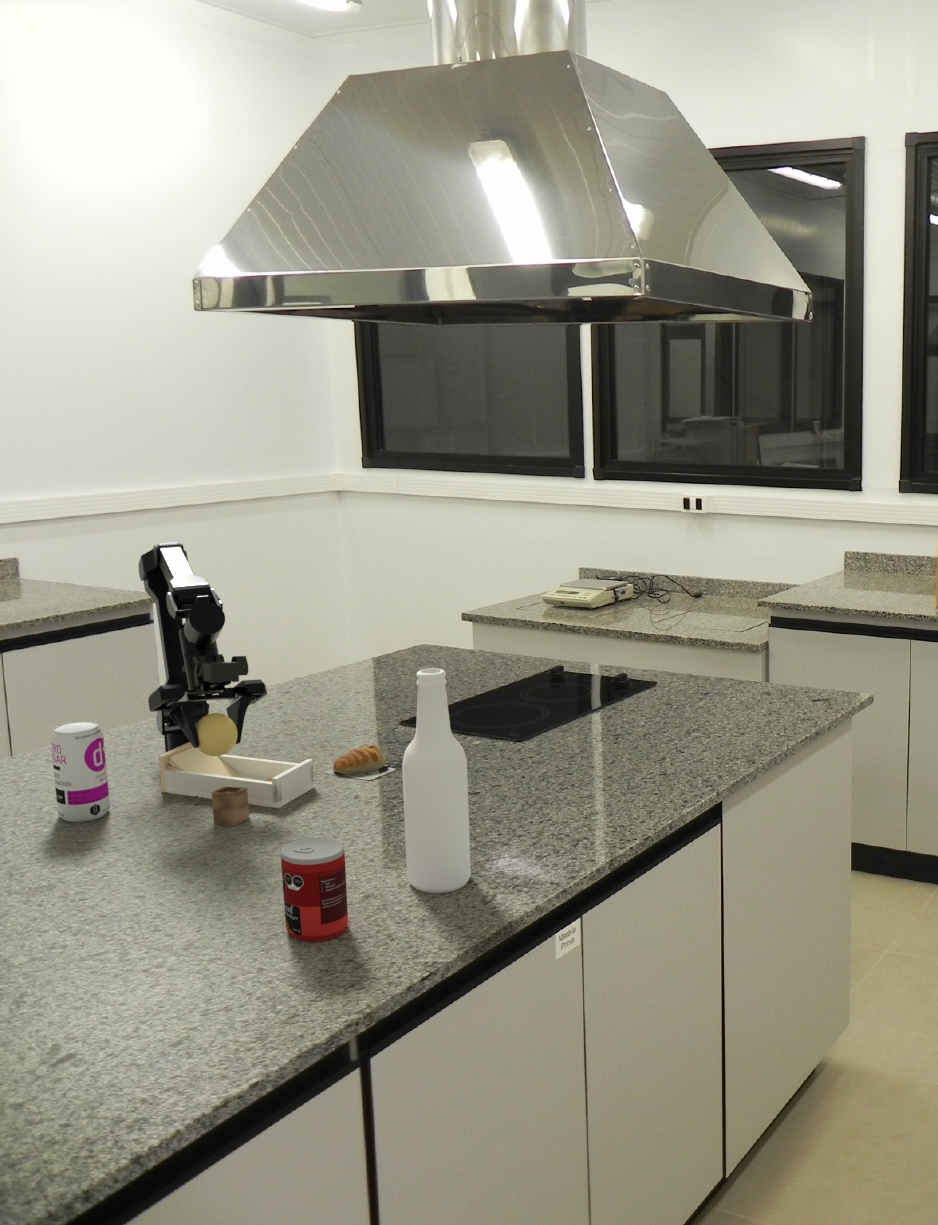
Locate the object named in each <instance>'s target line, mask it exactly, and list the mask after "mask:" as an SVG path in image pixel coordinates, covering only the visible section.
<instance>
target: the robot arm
mask: <svg viewBox="0 0 938 1225" xmlns="http://www.w3.org/2000/svg"><path fill="white" fill-rule="evenodd" d="M138 575H139V580H140V581H141V582H142V581H143V585H144V586H143V587H144V591H145V592H146V594H147V595H148V596H149V598H150V599H151V600H152V601H153V602H154V603H155V607H156V608H155V609H156V614H157V615H156V616H157V622H158V629H159V630H158V631H159V636H160V637H159V638H160V642H161V644H160V645H161V651H162V652H161V653H162V658H163V666H164V671H165V672H164V673H165V682H164V684H162V685H159V686H158V687H157V688H156V689H155V690H154V691H152V693H150V695H149V697H148V708H149V711H150V712H153V713H155V712H156V717H155V718H156V728H157V731H158V732H159V733H160V735H161V736H163V739H164V748H165V749H164V750H165V751H164V752H165V753H166V752H168V751H171V750H173V749H175V748H177V747H179V746H182V745H184V744H186V743H188V742H191V744H192V745H193V747H194V748H198V747H199V740H198V734H197V729H196V724H197V723H198V721H199V720H200V719H201V718H203V717H204V716H206V715H208V714H210V704H209V703H208V702H209V701H222V700H228V701H229V706H228V707H226V708H225V709H226V713H227V716H228V717H229V718H230V719H231V720H232V721H233V722H234V723H235V725H236V728H237V741H236V743H235V745H239V744H240V743H241V740H242V735H243V730H244V728H243V727H244V722H245V717H246V713H247V711H248V708H249V706H250V705H253V704H255V703H257V702H258V701H260V700H261V699H263V698H264V697H265V696H267V695H268V690H267V685H266V684H265V682H264V681H263V680H262V679H247V680H246V679H245V680H241V681H240V676H248V674H249V663H248V659H247V656H246V655H240V656H239V655H234V656H231V660H230V661H225V657H224V656H223V653H221V654H220V653H219V650H218V649H219V648H218V644H217V643H218V642H217V639H218V638H219V636H220V634H221V632H222V629H223V628H224V627H225V626H224V625H225V623H226V616H225V612H224V606H223V605H224V604H223V602H222V599H221V598H220V597H219V595H218V594H217V593H216V591H215V589H214V588H213V587H211V585H210V583H209V582H208V581H207V579H206V578H205V577H201V576H199V575H195V573H194V571H193V569H192V567H191V565H190V563H189V558H188V553H187V550H185V549H184V545H183V543H182V542H177V541H173V542H163V543H162V542H161V543H157V544H155V545H153V547H152V549H151V550H149V551H147V552H145V553H142V554H141V556H140V558H139V561H138ZM183 619H185V622H184V621H183ZM183 622H184V623H183ZM232 683H237V684H235V685H234V686H232V687H226V686H230V684H232Z"/></svg>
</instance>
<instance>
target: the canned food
mask: <svg viewBox="0 0 938 1225" xmlns="http://www.w3.org/2000/svg"><path fill="white" fill-rule="evenodd" d="M344 847H345V846H344V844H343V843H342V842H341V841H340V840H337V839H333V838H329V837H308V838H301V839H297V840H295V841H294V840H293V841H291V842H288V843H287V844H285V845H284V846H283V847H282V848H281V849H280V850H281V852H280V854H281V855H280V861H281V862H280V863H281V879H282V880H281V881H282V889H283V890H282V893H283V905H284V908H283V909H284V921H285V922H284V923H285V928H286V930H287V933H288V935H289V936H290V938H293V939H295V938H296V939H295V940H297V939H299V940H298V941H300V940H303V941H302V942H306V941H312V942H311V943H315V942H314V941H320V942H325V941H324V940H326V941H328V940H327V939H330V940H332V939H331V938H333V939H335V937H336V938H338V937H340V936H342V934H344V933H345V931H346V930H347V928H348V924H349V912H348V892H347V874H346V870H347V869H346V856H345V848H344ZM339 935H340V936H339ZM337 936H338V937H337Z"/></svg>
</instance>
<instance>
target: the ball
mask: <svg viewBox="0 0 938 1225" xmlns="http://www.w3.org/2000/svg"><path fill="white" fill-rule="evenodd" d="M196 729H197V734H198V740H199V747H198V749H199V750H200V751H201V752H203V753H204V754H206V755H209V756H221V755H227V753H229V752H230V751H231V750H232V749H233V748H234V746H235V745H236V741H237V728H236V725H235V723H234V722H233V721H232V720H231V719H230V718H229V717H228V715H226V714H222V713H220V712H214V713H213V712H212V713H209V714H208V715H206V716H204V717H203V718H201V719H200V720H199V721H198V723H197V724H196Z"/></svg>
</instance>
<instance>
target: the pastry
mask: <svg viewBox="0 0 938 1225" xmlns="http://www.w3.org/2000/svg"><path fill="white" fill-rule="evenodd" d="M386 763H387V762H386V758H385V754H383V752H382V750H381V748H380V747H379V746H378V745H376V744H371V745H369V744H367V745H366V746H364V747H358V748H357V747H356V748H353V749H351V750H349V751H348V752H347V753H346V754H344V755H341V756H340V757H339V758H338V759H336V760H335V761H333V768H332V770H333V772H334V773H339V774H342V775H347V776H348V775H354V774H364V773H366V772H367V773H368V772H370V771H371V772H372V771H375V770H379V769H381V768H384V766H385V765H386Z"/></svg>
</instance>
